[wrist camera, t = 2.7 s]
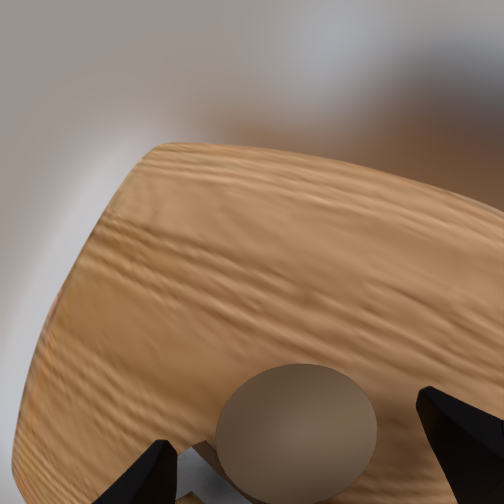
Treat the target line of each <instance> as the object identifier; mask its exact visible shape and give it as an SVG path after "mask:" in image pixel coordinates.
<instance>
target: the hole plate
mask: <svg viewBox="0 0 504 504" xmlns="http://www.w3.org/2000/svg"><path fill="white" fill-rule="evenodd" d="M191 491H192V492H193V493H194V494H195V495H196V496H197V497H198V498H199V499H200V500H201V501H202V502H204V503H205V504H270V503H266V502H263V501H260V500H258V499H256V498H253V497H252V496H250V495H248V494H246V493H245V492H244V491H242V490H241V489H240V488H238V487H237V486H236V485H235V484H234V483H233V482H232V481H231V480H230V478H229V477H228V476H227V474H226V473H225V471H224V469H223V467H222V466H221V463H220V461H219V458H218V455H217V452H216V451H215V450H214V449H213V448H212V447H211V446H210V445H209V444H208V443H207V442H206V441H203V442H200V443H198V444H196V445H193V446H191V447H190V448H188V449H187V450H186V451H184V452H183V453H182V454H180V455H179V456H178V457H177V493H176V500H177V499H179V498H181V497H182V496H184V495H186V494H187V493H189V492H191Z"/></svg>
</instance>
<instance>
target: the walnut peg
mask: <svg viewBox="0 0 504 504" xmlns="http://www.w3.org/2000/svg"><path fill="white" fill-rule="evenodd" d="M215 439H216V450H217V455H218V458H219V461H220V463H221V466H222V467H223V469H224V471H225V473H226V474H227V476H228V477H229V478H230V480H231V481H232V482H233V483H234V484H235V485H236V486H237V487H238V488H240V489H241V490H242V491H244V492H245V493H246V494H248V495H250V496H252V497H253V498H256V499H258V500H260V501H263V502H266V503H270V504H314V503H318V502H321V501H324V500H327V499H329V498H331V497H333V496H335V495H337V494H339V493H340V492H342V491H343V490H345V489H346V488H347V487H349V486H350V485H351V484H352V483H353V482H354V481H355V480H356V479H357V478H358V477H359V476H360V475H361V474H362V472H363V471H364V470H365V468H366V467H367V465H368V463H369V461H370V460H371V457H372V455H373V452H374V450H375V446H376V441H377V420H376V415H375V412H374V409H373V406H372V404H371V402H370V400H369V399H368V397H367V395H366V394H365V393H364V391H363V390H362V389H361V388H360V387H359V386H358V385H357V384H356V383H355V382H354V381H352V380H351V379H350V378H348V377H347V376H345V375H343V374H342V373H340V372H338V371H335V370H333V369H330V368H327V367H323V366H319V365H312V364H291V365H284V366H280V367H276V368H273V369H270V370H267V371H265V372H262V373H260V374H258V375H256V376H255V377H253V378H251V379H250V380H248V381H247V382H246V383H244V384H243V385H242V386H241V387H240V388H239V389H238V390H237V391H236V392H235V393H234V394H233V395H232V396H231V397H230V399H229V400H228V401H227V403H226V405H225V406H224V408H223V410H222V412H221V415H220V417H219V420H218V424H217V428H216V437H215Z"/></svg>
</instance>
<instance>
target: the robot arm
mask: <svg viewBox="0 0 504 504" xmlns="http://www.w3.org/2000/svg"><path fill="white" fill-rule="evenodd" d="M416 410H417V412H418V415H419V417H420V420H421V423H422V425H423V428H424V431H425V434H426V436H427V439H428V441H429V443H430V445H431V447H432V449H433V451H434V453H435V455H436V457H437V459H438V461H439V463H440V465H441V467H442V470H443V472H444V474H445V476H446V478H447V480H448V482H449V484H450V487H451V489H452V491H453V493H454V496H455V498H456V500H457V502H458V504H504V420H501V419H500V418H497V417H495V416H493V415H491V414H488V413H486V412H484V411H482V410H480V409H478V408H475V407H473V406H471V405H469V404H467V403H465V402H463V401H460V400H458V399H456V398H454V397H452V396H450V395H448V394H446V393H444V392H442V391H440V390H438V389H436V388H434V387H432V386H427V387H425V388H423V389H421V390H420V391H419V393H418V397H417V401H416ZM176 493H177V452H176V450H175V449H174V448H173V446H172V445H171V444H170V442H169V441H168V440H160V439H159V440H156V441H155V442H154V443H153V444H152V445H151V446H150V447H149V448H148V449H147V450H146V451H145V452H144V453H143V454H142V455H141V456H140V457H139V458H138V459H137V460H136V461H135V462H134V463H133V464H132V465H131V466H130V468H129V469H128V470H127V471H126V472H125V473H124V474H123V475H121V476H120V477H119V478H118V479H117V480H116V481H115V482H114V483H113V484H112V485H111V486H110V487H109V488H108V489H107V490H106V491H105V492H104V493H103V494H102V495H101V497H99V498H97V499H96V500H95V501H94V502H93V503H92V504H175V500H176Z"/></svg>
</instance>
